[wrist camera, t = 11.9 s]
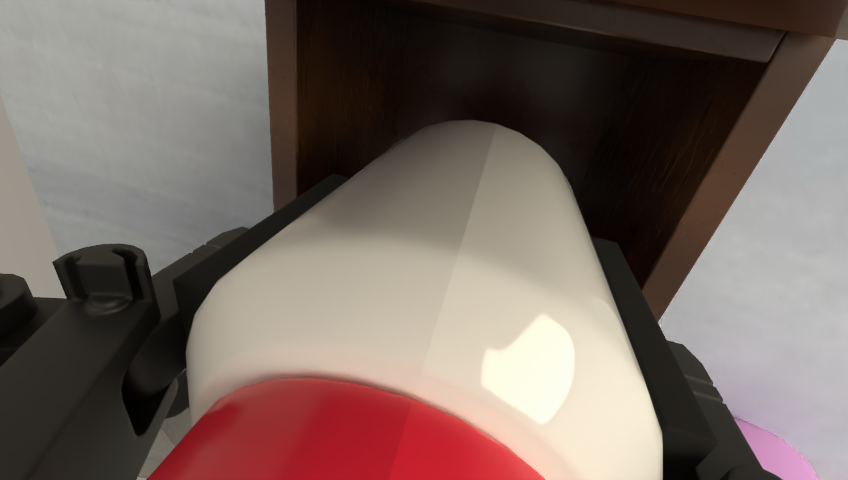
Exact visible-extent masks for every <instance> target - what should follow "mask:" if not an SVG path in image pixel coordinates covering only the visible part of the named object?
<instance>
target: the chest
mask: <svg viewBox="0 0 848 480" xmlns="http://www.w3.org/2000/svg"><path fill="white" fill-rule="evenodd" d="M265 16H266V39H267V63H268V86H269V109H270V132H271V155H272V179H273V202H274V213H275V212H276V211H278V210H279V209H281V208H282V207H284V206H285V205H287V204H288V203H290V202H291V201H293V200H294V199H296V198H297V197H299V196H300V195H302V194H303V193H305V192H306V191H308V190H309V189H311V188H312V187H314V186H315V185H317V184H318V183H320V182H321V181H323V180H324V179H326V178H327V177H329V176H330V175H332V174H337V175H341V176H345V177H350V178H351V177H353V176H354V175H355V174H357V173H358V172H359V171H361V170H362V169H363V168H364V167H366V166H367V165H368V164H370V163H371V162H372V161H374V160H375V159H376V158H378V157H379V156H380V155H382V154H383V153H384V152H386V151H387V150H388V149H390V148H391V147H392V146H393V145H395V144H396V143H397V142H399V141H400V140H401V139H403V138H404V137H405V136H407V135H409V134H411V133H413V132H416V131H418V130H420V129H422V128H424V127H426V126H429V125H434V124H438V123H442V122H446V121H455V120H477V121H482V122H488V123H494V124H498V125H501V126H504V127H506V128H509V129H511V130H514V131H516V132H519V133H521V134H522V135H524V136H525V137H527V138H528V139H530V140H532V141H533V142H535V143H536V144H538V145H539V146H541V147H542V148H543V149H544V150H545V151H546V152H547V153H548V154H549V156H550V157H551V158H552V159H553V160H554V161H555V162H556V163H557V164H558V165H559V167H560V169H561V170H562V172H563V173H564V175H565V177H566V178H567V180H568V181H569V183H570V185H571V188H572V190H573V193H574V196H575V198H576V201H577V204H578V206H579V209H580V212H581V214H582V217H583V219H584V222H585V225H586V227H587V230H588V233H589V235H590V238H591V236H592V237H596V238H600V239H604V240H608V241H612V242H617V244H618V246H619V248H620V250H621V252H622V254H623V256H624V258H625V260H626V262H627V264H628V265H629V267H630V269H631V271H632V273H633V275H634V277H635V279H636V281H637V283H638V285H639V287H640V289H641V291H642V293H643V295H644V297H645V299H646V301H647V303H648V305H649V307H650V309H651V311H652V313H653V315H654V317H655V319H656V321H657V323H658V321H659V320H660V318H661V316H662V315H663V313H664V312H665V310H666V308H667V307H668V305H669V304H670V302H671V301H672V299H673V297H674V296H675V294H676V293H677V291H678V289H679V288H680V286H681V285H682V283H683V281H684V280H685V278H686V277H687V275H688V273H689V272H690V270H691V269H692V267H693V266H694V264H695V262H696V261H697V259H698V258H699V256H700V254H701V253H702V251H703V250H704V248H705V246H706V245H707V243H708V242H709V240H710V239H711V237H712V235H713V234H714V232H715V231H716V229H717V227H718V226H719V224H720V223H721V221H722V219H723V218H724V216H725V215H726V213H727V212H728V210H729V208H730V207H731V205H732V204H733V202H734V200H735V199H736V197H737V196H738V194H739V192H740V191H741V189H742V188H743V186H744V185H745V183H746V181H747V180H748V178H749V177H750V175H751V173H752V172H753V170H754V169H755V167H756V165H757V164H758V162H759V161H760V159H761V158H762V156H763V154H764V153H765V151H766V150H767V148H768V146H769V145H770V143H771V142H772V140H773V138H774V137H775V135H776V134H777V132H778V131H779V129H780V127H781V126H782V124H783V123H784V121H785V119H786V118H787V116H788V115H789V113H790V111H791V110H792V108H793V107H794V105H795V104H796V102H797V100H798V99H799V97H800V96H801V94H802V92H803V91H804V89H805V88H806V86H807V84H808V83H809V81H810V80H811V78H812V77H813V75H814V73H815V72H816V70H817V69H818V67H819V65H820V64H821V62H822V61H823V59H824V57H825V56H826V54H827V53H828V51H829V50H830V48H831V46H832V45H833V43H834V42H835V40H836V38H830V37H824V36H818V35H812V34H806V33H800V32H794V31H788V30H782V29H775V28H769V27H763V26H757V25H751V24H745V23H739V22H733V21H727V20H721V19H715V18H709V17H703V16H697V15H691V14H685V13H679V12H673V11H667V10H661V9H655V8H649V7H643V6H637V5H631V4H625V3H619V2H613V1H607V0H265Z"/></svg>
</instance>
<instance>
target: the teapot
mask: <svg viewBox="0 0 848 480" xmlns="http://www.w3.org/2000/svg"><path fill="white" fill-rule="evenodd" d="M734 420H735V421H736V423H737V425H738V427H739V428H740V430H741V432H742V433H743V435H744V437H745V439H746V440H747V442H748V444H749V445H750V447H751V449H752V451H753V452H754V454H755V456H756V457H757V459H758V461H759V463H760V464H761V466H762V468H763V469H764V470H766V471H769V472H771V473H773V474H775V475H777V476H778V477H780V478H781V479H783V480H819V478H818V477H817V475H816V473H815V472H814V470H813V469H812V467H811V466H810V464H809V463H808V461H807V460H806V459H805V458H804V457H803V456H802V455H801V454H800V453H799V452H798V451H796V450H795V449H794V448H793V447H791V446H790V445H789V444H788V443H786V442H785V441H784V440H782V439H781V438H779V437H777V436H776V435H774V434H772V433H770V432H768V431H765V430H763V429H761V428H759V427H757V426H754V425H752V424H750V423H747V422H745V421H742V420H739V419H736V418H734Z"/></svg>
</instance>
